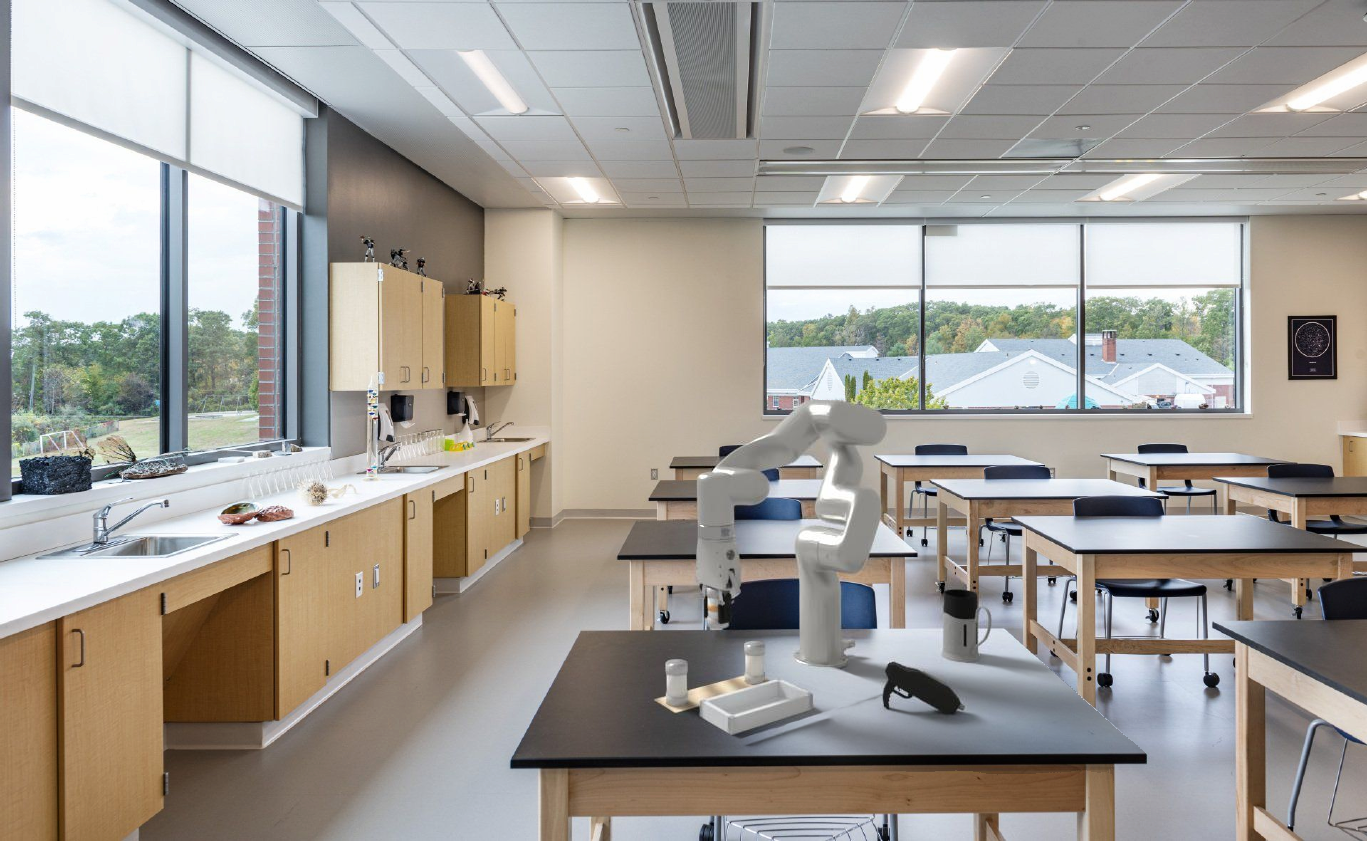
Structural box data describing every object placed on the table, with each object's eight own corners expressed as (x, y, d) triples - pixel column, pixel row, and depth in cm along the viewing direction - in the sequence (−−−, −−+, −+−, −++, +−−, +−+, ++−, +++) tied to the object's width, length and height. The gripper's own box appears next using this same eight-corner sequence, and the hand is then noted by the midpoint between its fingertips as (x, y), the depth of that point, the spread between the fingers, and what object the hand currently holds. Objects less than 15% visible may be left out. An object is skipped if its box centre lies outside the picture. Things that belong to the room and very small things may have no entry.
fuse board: (754, 677, 173) (754, 672, 173) (777, 688, 166) (777, 683, 166) (653, 704, 158) (653, 699, 158) (675, 717, 152) (675, 712, 152)
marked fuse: (720, 620, 165) (719, 583, 164) (732, 625, 161) (732, 587, 161) (703, 624, 162) (702, 586, 162) (715, 630, 159) (714, 591, 158)
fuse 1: (680, 696, 160) (679, 657, 159) (692, 703, 156) (691, 664, 156) (661, 701, 157) (661, 662, 157) (673, 708, 153) (673, 668, 153)
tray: (779, 697, 161) (779, 678, 161) (813, 714, 153) (812, 693, 153) (699, 721, 150) (699, 700, 150) (731, 740, 142) (731, 718, 141)
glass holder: (962, 648, 191) (962, 587, 190) (1005, 667, 178) (1005, 601, 177) (933, 652, 188) (933, 590, 187) (974, 672, 174) (974, 605, 174)
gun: (946, 743, 152) (971, 700, 151) (870, 700, 155) (894, 657, 153) (944, 737, 155) (968, 694, 154) (869, 695, 157) (893, 652, 156)
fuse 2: (756, 676, 171) (756, 639, 170) (769, 682, 167) (769, 645, 167) (740, 680, 168) (740, 643, 168) (753, 686, 165) (753, 649, 164)
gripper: (756, 536, 156) (757, 626, 157) (707, 524, 170) (708, 607, 171) (726, 540, 152) (727, 633, 153) (678, 528, 166) (680, 613, 167)
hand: (717, 618), depth 162 cm, fingers closed on marked fuse, 4 cm apart
